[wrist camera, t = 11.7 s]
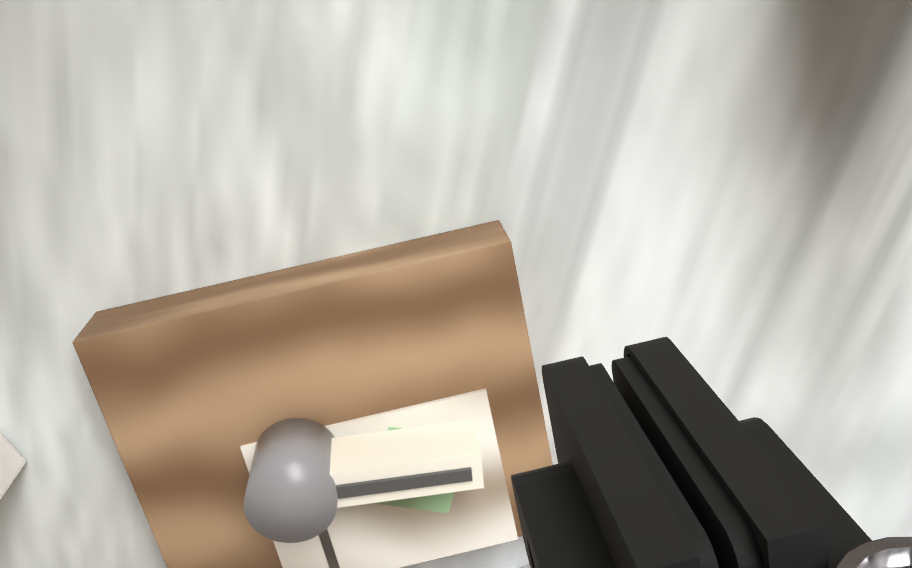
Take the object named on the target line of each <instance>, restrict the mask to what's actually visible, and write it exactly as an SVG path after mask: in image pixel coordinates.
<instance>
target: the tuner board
mask: <svg viewBox="0 0 912 568" xmlns="http://www.w3.org/2000/svg"><path fill="white" fill-rule="evenodd" d="M73 345H74V347H75V349H76V352H77V354H78V357H79V359H80V361H81V364H82V366H83V368H84V371H85V373H86V376H87V378H88V380H89V383H90V385H91V387H92V390H93V392H94V395H95V397H96V399H97V402H98V404H99V406H100V409H101V411H102V414H103V416H104V418H105V421H106V423H107V425H108V428H109V430H110V433H111V435H112V437H113V440H114V442H115V444H116V447H117V449H118V452H119V454H120V456H121V459H122V461H123V463H124V466H125V468H126V471H127V473H128V475H129V478H130V480H131V483H132V485H133V487H134V490H135V492H136V494H137V497H138V499H139V502H140V504H141V506H142V509H143V511H144V513H145V516H146V518H147V521H148V523H149V525H150V528H151V530H152V532H153V535H154V537H155V540H156V542H157V544H158V547H159V549H160V551H161V554H162V556H163V559H164V561H165V563H166V566H167V568H401V567H405V566H409V565H413V564H418V563H422V562H426V561H430V560H434V559H438V558H443V557H447V556H451V555H455V554H459V553H463V552H468V551H472V550H476V549H480V548H484V547H489V546H493V545H497V544H501V543H505V542H509V541H514V540H518V537H519V536H523V534H522V530H521V525H520V520H519V516H518V511H517V506H516V501H515V497H514V492H513V487H512V481H511V475H514V474H518V473H522V472H526V471H530V470H535V469H539V468H543V467H547V466H552V465H553V464H552V459H551V453H550V448H549V443H548V437H547V432H546V427H545V421H544V416H543V411H542V405H541V400H540V395H539V389H538V384H537V378H536V373H535V368H534V362H533V357H532V352H531V346H530V341H529V336H528V330H527V325H526V320H525V314H524V309H523V304H522V298H521V293H520V287H519V282H518V277H517V271H516V266H515V261H514V255H513V250H512V245H511V241H510V239H509V238H508V236H507V234H506V232H505V230H504V229H503V227H502V225H501V223H500V221H499V220H497V221H493V222H488V223H484V224H480V225H475V226H471V227H466V228H462V229H458V230H453V231H449V232H444V233H440V234H436V235H431V236H427V237H422V238H418V239H414V240H409V241H405V242H401V243H396V244H392V245H387V246H383V247H379V248H374V249H370V250H365V251H361V252H357V253H352V254H348V255H344V256H339V257H335V258H330V259H326V260H322V261H317V262H313V263H308V264H304V265H300V266H295V267H291V268H286V269H282V270H278V271H273V272H269V273H265V274H260V275H256V276H251V277H247V278H243V279H238V280H234V281H229V282H225V283H221V284H216V285H212V286H208V287H203V288H199V289H194V290H190V291H186V292H181V293H177V294H172V295H168V296H164V297H159V298H155V299H150V300H146V301H142V302H137V303H133V304H129V305H124V306H120V307H115V308H111V309H107V310H102V311H98V312H96V313H95V314H94V315H93V317H92V318H91V319H90V320H89V322H88V323H87V324H86V326H85V327H84V328H83V329H82V331H81V332H80V333H79V335H78V336H77V337H76V338H75V340H74V341H73ZM289 418H305V419H310V420H313V421H316V422H318V423H320V424H322V425H323V426H325V427H326V428H327V429H328V430H329V431H330V432H331V433H332V434H333V435H334V437H343V436H350V435H358V434H366V433H374V432H381V431H389V430H397V429H404V428H412V427H420V426H428V425H435V424H443V423H451V422H458V421H466V420H473V423H474V427H475V431H476V435H477V439H478V443H479V447H480V451H481V458H482V470H483V482H484V488H480V489H473V490H466V491H458V492H451V493H443V494H436V495H429V496H421V497H414V498H407V499H399V500H392V501H385V502H377V503H370V504H362V505H355V506H348V507H340V508H337V511H336V515H335V517H334V519H333V521H332V523H331V524H330V525H329V527H328V528H327V529H326V530H325V531H324V532H322V533H321V534H320V535H318V536H316V537H314V538H312V539H310V540H307V541H303V542H298V543H283V542H277V541H273V540H271V539H268V538H266V537H264V536H262V535H261V534H259V533H258V532H257V531H256V530H255V529H254V528H253V527H252V526H251V525H250V523H249V522H248V520H247V518H246V516H245V512H244V497H245V492H246V488H247V483H248V479H249V474H250V470H251V465H252V461H253V456H254V451H255V447H256V444H257V441H258V439H259V437H260V436H261V434H262V433H263V432H264V431H265V430H266V429H267V428H268V427H270V426H271V425H273V424H274V423H276V422H279V421H281V420H285V419H289Z"/></svg>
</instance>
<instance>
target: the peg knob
mask: <svg viewBox="0 0 912 568" xmlns="http://www.w3.org/2000/svg"><path fill="white" fill-rule="evenodd" d="M480 488H484V482H483V470H482V458H481V451H480V447H479V443H478V439H477V435H476V431H475V427H474V423H473V420H466V421H458V422H451V423H443V424H435V425H428V426H420V427H412V428H404V429H397V430H389V431H381V432H374V433H366V434H358V435H350V436H343V437H334V435H333V434H332V433H331V432H330V431H329V430H328V429H327V428H326V427H325V426H323V425H322V424H320V423H318V422H316V421H313V420H310V419H305V418H289V419H285V420H281V421H279V422H276V423H274V424H273V425H271V426H270V427H268V428H267V429H266V430H265V431H264V432H263V433H262V434H261V436H260V437H259V439H258V441H257V444H256V447H255V451H254V456H253V461H252V465H251V470H250V474H249V479H248V483H247V488H246V492H245V497H244V512H245V516H246V518H247V520H248V522H249V523H250V525H251V526H252V527H253V528H254V529H255V530H256V531H257V532H258V533H259V534H261V535H262V536H264V537H266V538H268V539H271V540H273V541H277V542H283V543H298V542H303V541H307V540H310V539H312V538H314V537H316V536H318V535H320V534H321V533H322V532H324V531H325V530H326V529H327V528H328V527H329V525H330V524H331V523H332V521H333V519H334V517H335V515H336V511H337V508H340V507H348V506H355V505H362V504H370V503H377V502H385V501H392V500H399V499H407V498H414V497H421V496H429V495H436V494H443V493H451V492H458V491H466V490H473V489H480Z"/></svg>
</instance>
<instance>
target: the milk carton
mask: <svg viewBox="0 0 912 568" xmlns="http://www.w3.org/2000/svg"><path fill="white" fill-rule="evenodd" d="M25 463H26V460H25V459H24V458H23V457H22V456H21V455H20V454H19V453H18V451H17V450H16V449H15V448H14V447H13V446H12V445H11V444H10V443H9V442H8V441H7V440H6V439H5V438H4V437H3V436H2V435H1V433H0V500H1V499H2V497H3V496H4V494H5V493H6V491H7V490H8V488H9V487H10V485H11V484H12V482H13V481H14V479H15V478H16V477H17V475H18V474H19V472H20V471H21V469H22V468H23V466H24V465H25Z"/></svg>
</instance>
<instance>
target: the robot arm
mask: <svg viewBox="0 0 912 568" xmlns="http://www.w3.org/2000/svg"><path fill="white" fill-rule="evenodd" d="M612 374H613V381H614V383H613V381H612V379H611V378H610V376H609V374H608V373H607V371H606V370H605V368H604V366H603V365H602V364H601V363H599V364H595V365H591V366H589V365H588V364H587V362H586V360H585V359H584V357H577V358H573V359H569V360H565V361H560V362H556V363H552V364H547V365H543V366H542V376H543V383H544V388H545V393H546V399H547V404H548V410H549V415H550V421H551V426H552V432H553V437H554V443H555V448H556V453H557V459H558V464H556V465H552V466H547V467H543V468H539V469H535V470H530V471H526V472H522V473H518V474H514V475H511V481H512V487H513V492H514V497H515V501H516V506H517V511H518V516H519V520H520V525H521V530H522V534H523V538H524V543H525V547H526V551H527V555H528V559H529V564H530V568H912V537H887V538H882V539H878V540H874V541H872V540H871V539H870V538H869V537H868V536H867V535H866V533H865V532H864V531H863V530H862V529H861V528H860V527H859V526H858V525H857V523H856V522H855V521H854V520H853V519H852V518H851V517H850V516H849V514H848V513H847V512H846V511H845V510H844V509H843V508H842V507H841V506H840V504H839V503H838V502H837V501H836V500H835V499H834V498H833V497H832V496H831V494H830V493H829V492H828V491H827V490H826V489H825V488H824V487H823V486H822V484H821V483H820V482H819V481H818V480H817V479H816V478H815V477H814V476H813V474H812V473H811V472H810V471H809V470H808V469H807V468H806V467H805V466H804V464H803V463H802V462H801V461H800V460H799V459H798V458H797V457H796V456H795V454H794V453H793V452H792V451H791V450H790V449H789V448H788V447H787V446H786V444H785V443H784V442H783V441H782V440H781V439H780V438H779V437H778V436H777V434H776V433H775V432H774V431H773V430H772V429H771V428H770V427H769V426H768V424H766V423H765V422H764V421H763V420H762V419H760V418H755V417H754V418H750V419H746V420H741V421H738V420H737V419H736V417H735V416H734V415H733V414H732V413H731V411H730V410H729V409H728V408H727V407H726V405H725V404H724V403H723V402H722V401H721V399H720V398H719V397H718V396H717V395H716V394H715V392H714V391H713V390H712V389H711V388H710V386H709V385H708V384H707V383H706V382H705V380H704V379H703V378H702V377H701V376H700V375H699V373H698V372H697V371H696V370H695V369H694V367H693V366H692V365H691V364H690V363H689V361H688V360H687V359H686V358H685V357H684V356H683V354H682V353H681V352H680V351H679V350H678V348H677V347H676V346H675V345H674V344H673V342H672V341H671V340H670V339H669V338H668V337H663V338H659V339H655V340H650V341H646V342H642V343H637V344H633V345H629V346H625V348H624V358H621V359H617V360H613V361H612Z"/></svg>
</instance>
